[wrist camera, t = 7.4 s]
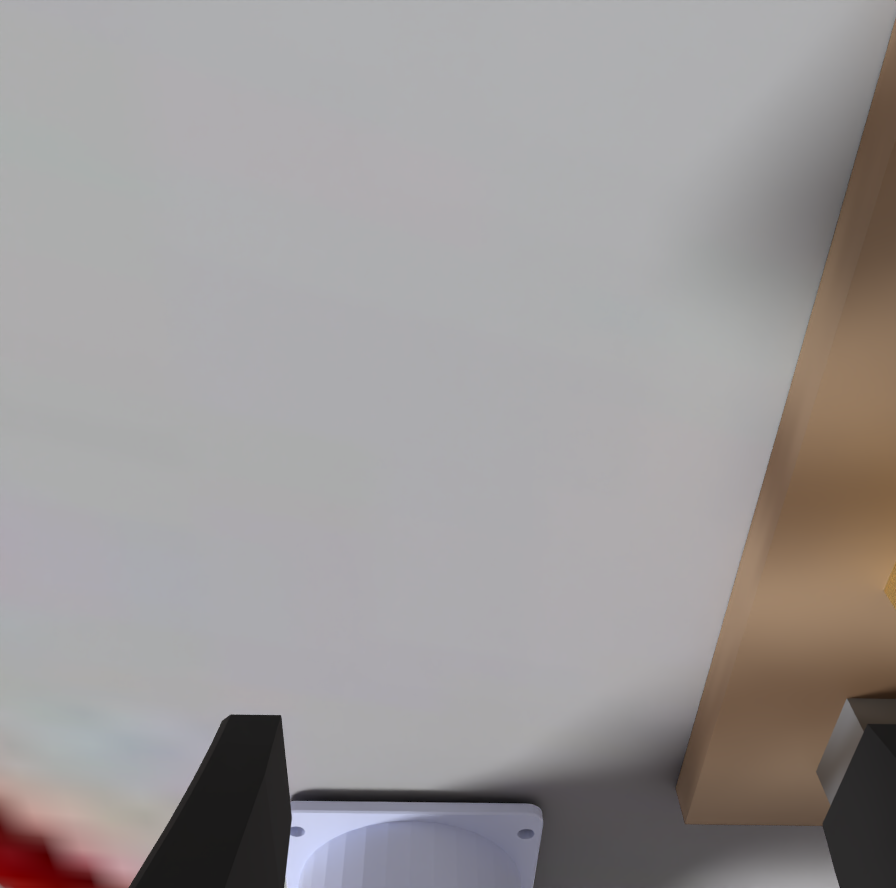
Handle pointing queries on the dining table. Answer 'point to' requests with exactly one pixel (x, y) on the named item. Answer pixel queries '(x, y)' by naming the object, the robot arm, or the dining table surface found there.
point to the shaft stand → (816, 541)
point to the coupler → (891, 587)
